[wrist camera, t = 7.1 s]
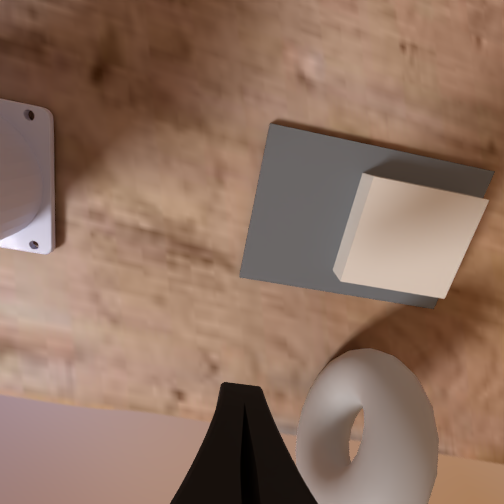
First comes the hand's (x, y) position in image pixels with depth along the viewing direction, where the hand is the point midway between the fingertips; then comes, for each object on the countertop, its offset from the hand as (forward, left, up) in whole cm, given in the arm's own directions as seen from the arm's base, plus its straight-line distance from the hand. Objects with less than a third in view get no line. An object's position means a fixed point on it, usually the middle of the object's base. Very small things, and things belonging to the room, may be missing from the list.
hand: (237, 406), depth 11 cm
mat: (+6, +5, -10) cm, 13 cm away
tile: (+6, +5, -9) cm, 11 cm away
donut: (+8, -6, -10) cm, 14 cm away
